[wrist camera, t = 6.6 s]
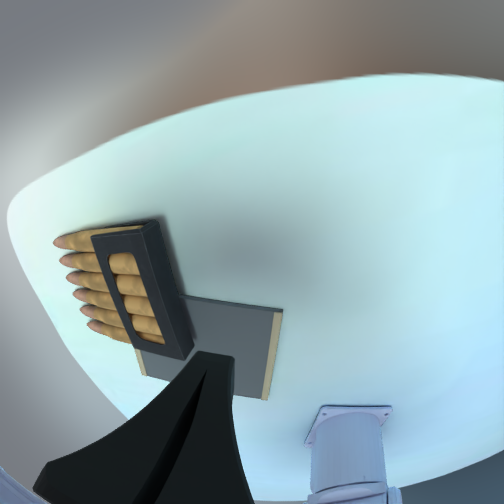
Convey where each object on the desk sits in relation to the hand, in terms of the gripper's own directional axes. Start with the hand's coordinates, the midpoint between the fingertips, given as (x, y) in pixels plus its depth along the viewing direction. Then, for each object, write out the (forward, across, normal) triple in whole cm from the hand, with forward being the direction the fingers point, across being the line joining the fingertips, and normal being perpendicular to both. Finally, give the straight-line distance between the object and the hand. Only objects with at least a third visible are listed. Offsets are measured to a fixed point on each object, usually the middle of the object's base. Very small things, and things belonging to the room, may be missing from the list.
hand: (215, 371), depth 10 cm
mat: (+10, +4, +10) cm, 15 cm away
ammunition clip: (+8, +5, +3) cm, 10 cm away
